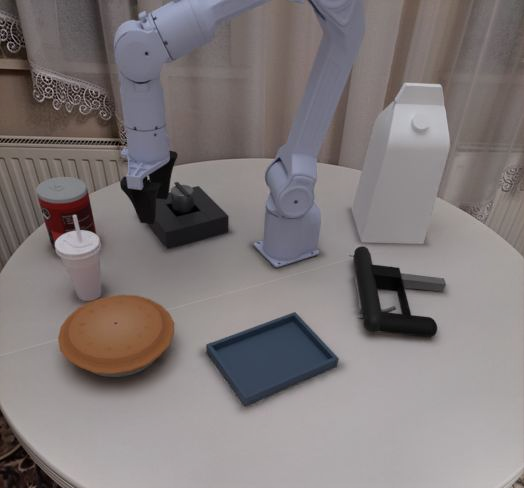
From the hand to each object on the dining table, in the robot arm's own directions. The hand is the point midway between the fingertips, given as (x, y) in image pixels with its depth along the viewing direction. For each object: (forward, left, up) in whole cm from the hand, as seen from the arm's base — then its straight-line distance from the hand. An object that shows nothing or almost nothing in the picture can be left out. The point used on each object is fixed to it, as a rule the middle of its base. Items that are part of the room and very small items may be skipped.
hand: (154, 209), depth 81 cm
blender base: (-9, -9, -10) cm, 16 cm away
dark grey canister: (-9, -9, -10) cm, 16 cm away
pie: (+13, +17, -10) cm, 24 cm away
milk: (-44, +9, -10) cm, 46 cm away
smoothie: (+13, +3, -10) cm, 17 cm away
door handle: (-31, +27, -10) cm, 42 cm away
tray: (-5, +29, -10) cm, 31 cm away
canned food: (+11, -11, -10) cm, 19 cm away
